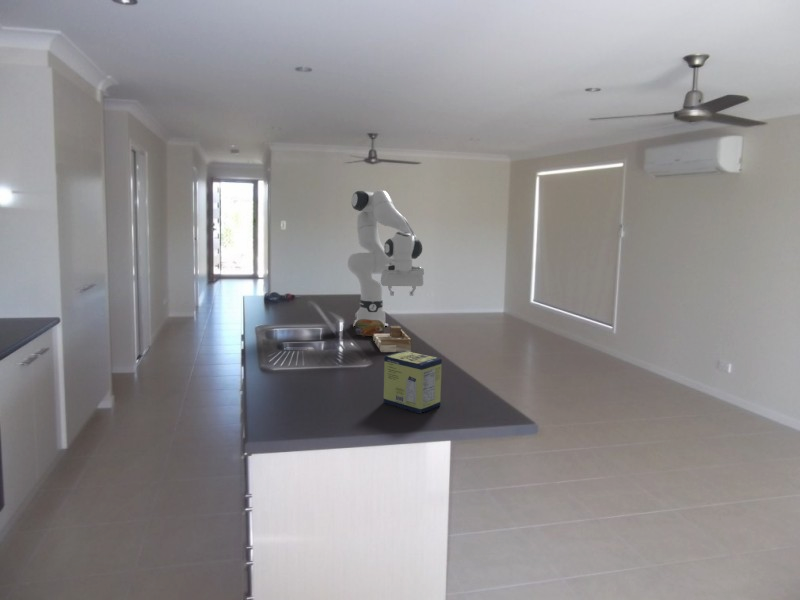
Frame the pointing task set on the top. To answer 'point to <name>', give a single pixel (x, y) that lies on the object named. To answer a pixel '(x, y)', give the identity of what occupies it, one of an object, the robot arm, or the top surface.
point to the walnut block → (395, 331)
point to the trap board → (392, 342)
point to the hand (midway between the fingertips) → (401, 295)
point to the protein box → (412, 381)
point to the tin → (369, 327)
